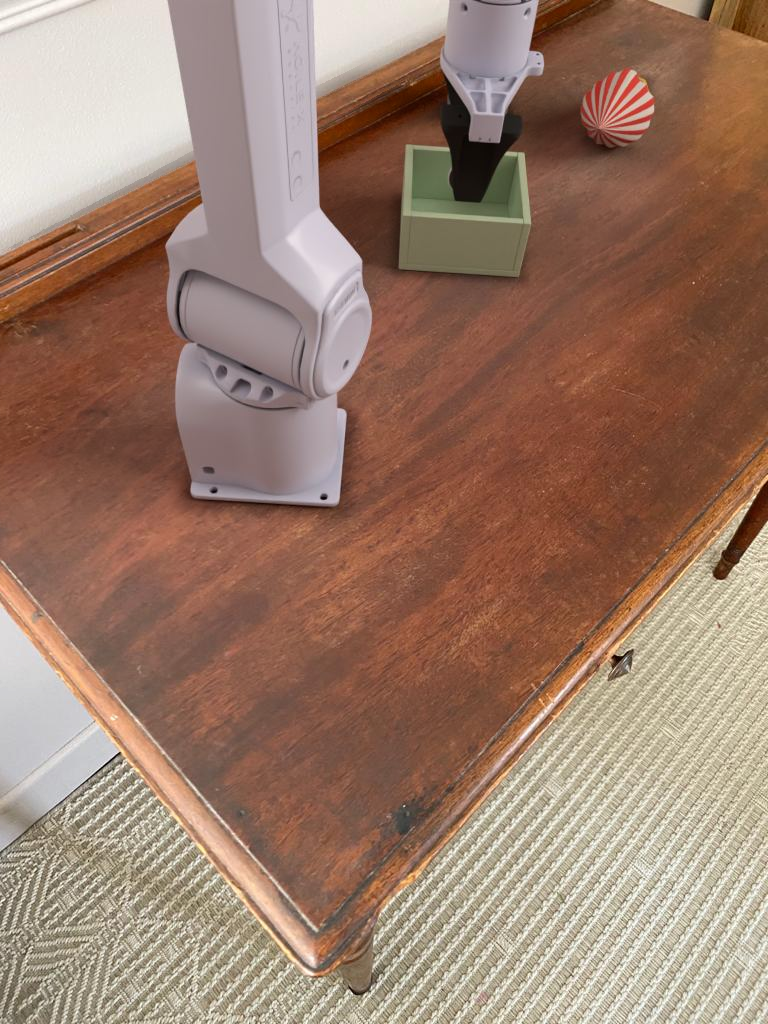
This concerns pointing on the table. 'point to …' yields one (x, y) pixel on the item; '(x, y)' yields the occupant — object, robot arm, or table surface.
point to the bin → (462, 217)
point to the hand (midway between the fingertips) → (467, 176)
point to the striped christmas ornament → (617, 109)
